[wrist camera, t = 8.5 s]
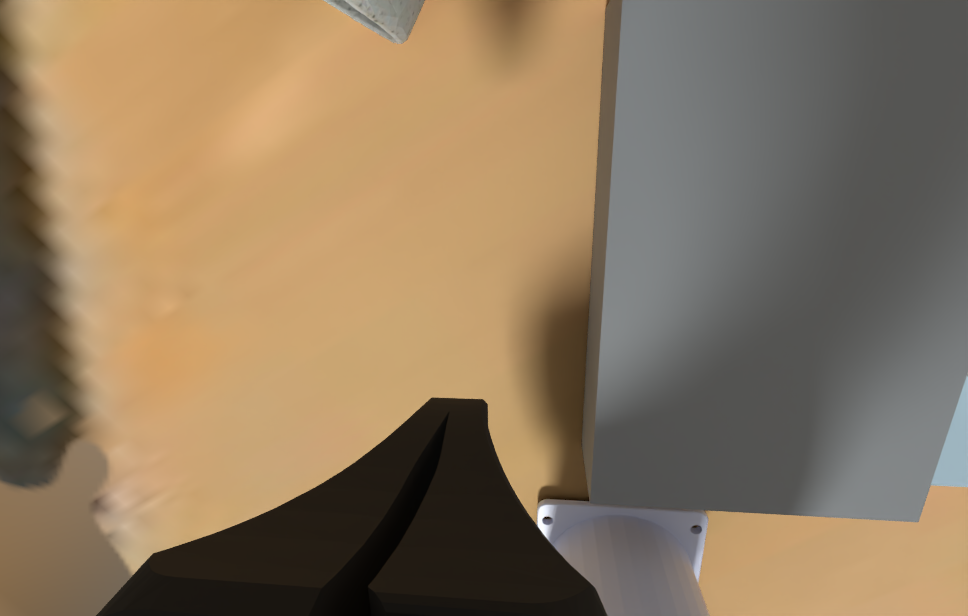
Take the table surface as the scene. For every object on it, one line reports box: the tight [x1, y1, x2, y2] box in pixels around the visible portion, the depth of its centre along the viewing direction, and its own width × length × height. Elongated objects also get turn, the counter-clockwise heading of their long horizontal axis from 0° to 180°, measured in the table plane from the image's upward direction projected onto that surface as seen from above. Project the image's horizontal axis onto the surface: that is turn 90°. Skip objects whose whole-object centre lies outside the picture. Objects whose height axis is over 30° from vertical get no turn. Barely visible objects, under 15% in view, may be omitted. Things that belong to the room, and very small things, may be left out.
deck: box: [582, 0, 968, 522], centre depth 18 cm, size 18×12×4 cm, turn 1°
